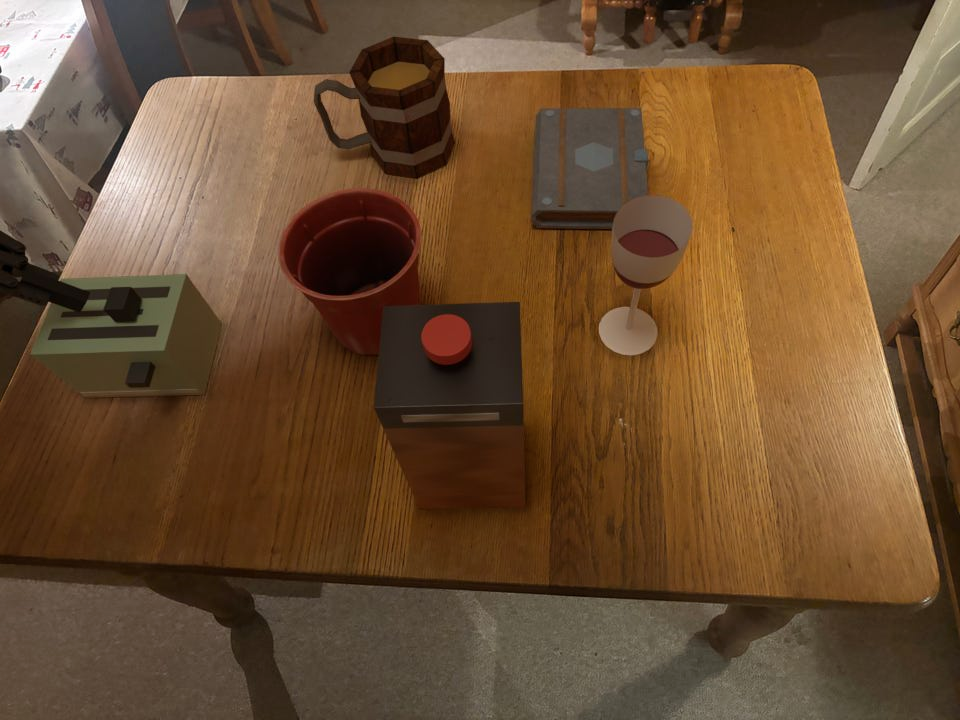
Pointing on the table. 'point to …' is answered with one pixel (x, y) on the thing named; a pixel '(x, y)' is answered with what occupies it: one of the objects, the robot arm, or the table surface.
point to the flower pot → (354, 261)
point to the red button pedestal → (455, 407)
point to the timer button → (446, 339)
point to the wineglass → (643, 265)
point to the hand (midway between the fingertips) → (84, 302)
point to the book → (586, 166)
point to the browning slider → (122, 304)
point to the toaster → (132, 340)
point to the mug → (398, 106)
